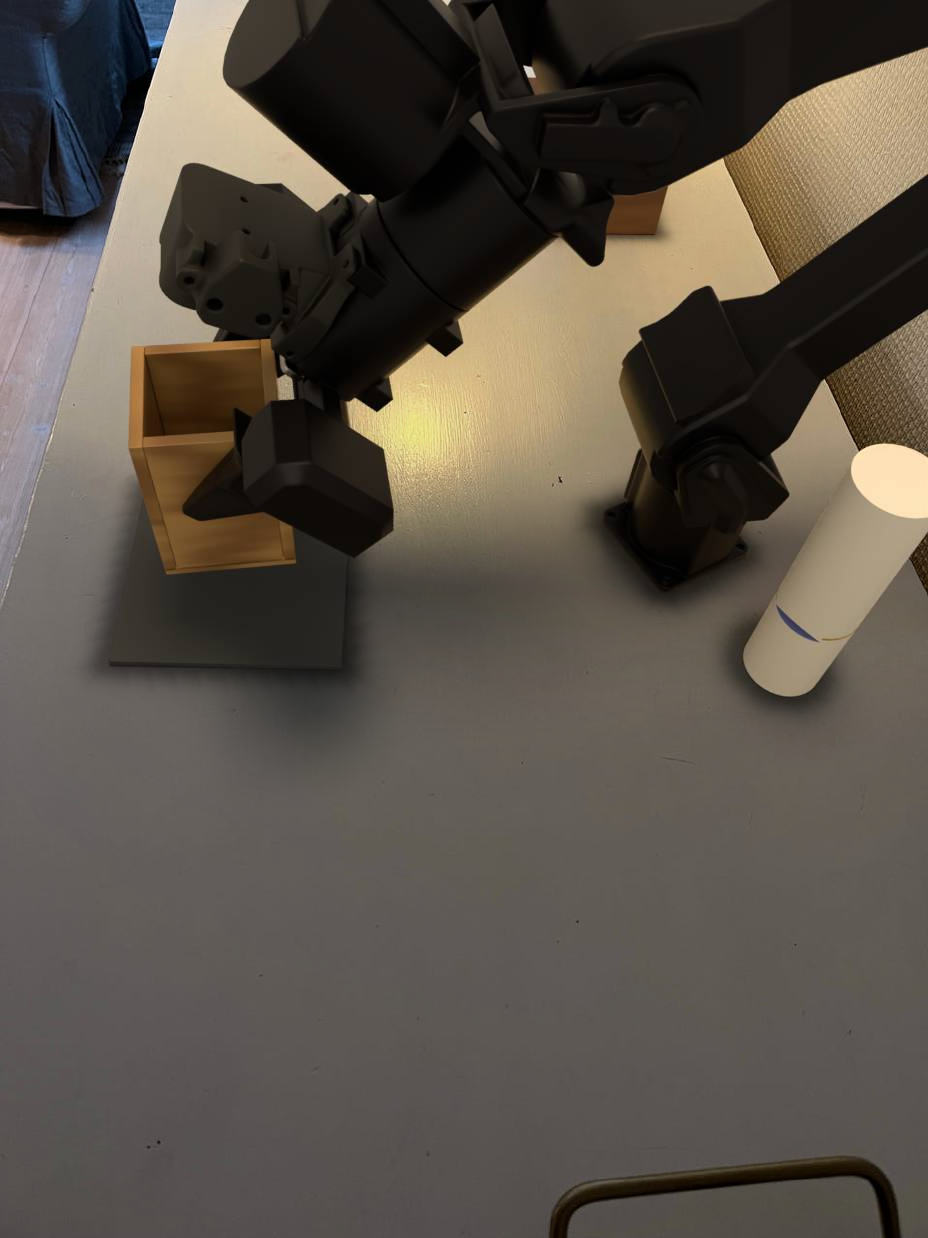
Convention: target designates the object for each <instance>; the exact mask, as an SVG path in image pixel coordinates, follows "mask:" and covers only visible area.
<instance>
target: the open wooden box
mask: <svg viewBox="0 0 928 1238" xmlns="http://www.w3.org/2000/svg"><path fill="white" fill-rule="evenodd" d="M129 371H130V373H129V374H130V375H129V376H130V377H129V404H128V405H129V410H128V413H129V414H128V440H127V441H128V442H127V443H128V444H127V445H128V446H127V448H128V452H129V455H130V458H131V462H132V465H133V468H134V471H135V476H136V478H137V482H138V485H139V489H140V492H141V495H142V500H143V499H144V502H145V505H146V509H147V512H148V515H149V519H150V522H151V525H152V529H153V532H154V535H155V538H156V542H157V545H158V548H159V552H160V555H161V558H162V562H163V565H164V568H165V572H166V574H167V575H169V574H181V573H192V572H203V571H215V570H226V569H237V568H248V567H260V566H271V565H282V564H294V563H296V555H295V543H294V532H293V527H292V526H290V525H288V524H286V523H284V522H282V521H280V520H278V519H276V518H274V517H272V516H270V515H268V514H266V513H264V512H261V513H254V514H248V515H241V516H235V517H228V518H221V519H215V520H208V521H197V520H195V519H193V518H191V517H189V516H186V515H185V514H183V512H182V506H183V504H184V503H185V501H186V500H187V499H188V498H189V496H190V495H191V494H192V492H193V491H194V490H195V488H196V487H197V486H198V485H199V484H200V483H201V482H202V481H203V480H204V479H205V477H206V476H207V475H208V474H209V473H210V472H211V471H212V470H213V469H214V468H215V467H216V466H217V465H218V463H219V462H220V461H221V460H222V459H223V458H224V457H225V456H226V455H227V454H228V453H229V452H230V450H231V449H232V448H233V447H234V433H233V413H232V411H233V408H234V407H236V408H237V409H239V410H241V411H242V412H244V413H246V414H247V415H249V416H251V417H253V416H254V415H255V414H256V413H257V412H258V411H259V410H261V409H262V408H263V407H264V406H265V405H266V404H268V403H269V402H270V401H273V400H281V399H280V389H279V380H278V379H279V378H278V379H277V370H276V362H275V353H274V351H273V350H272V349H271V339H261V340H242V341H224V342H213V341H208V342H206V341H205V342H190V343H187V342H186V343H171V344H170V343H169V344H152V345H150V344H149V345H133V346H131V347H130V370H129Z"/></svg>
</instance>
